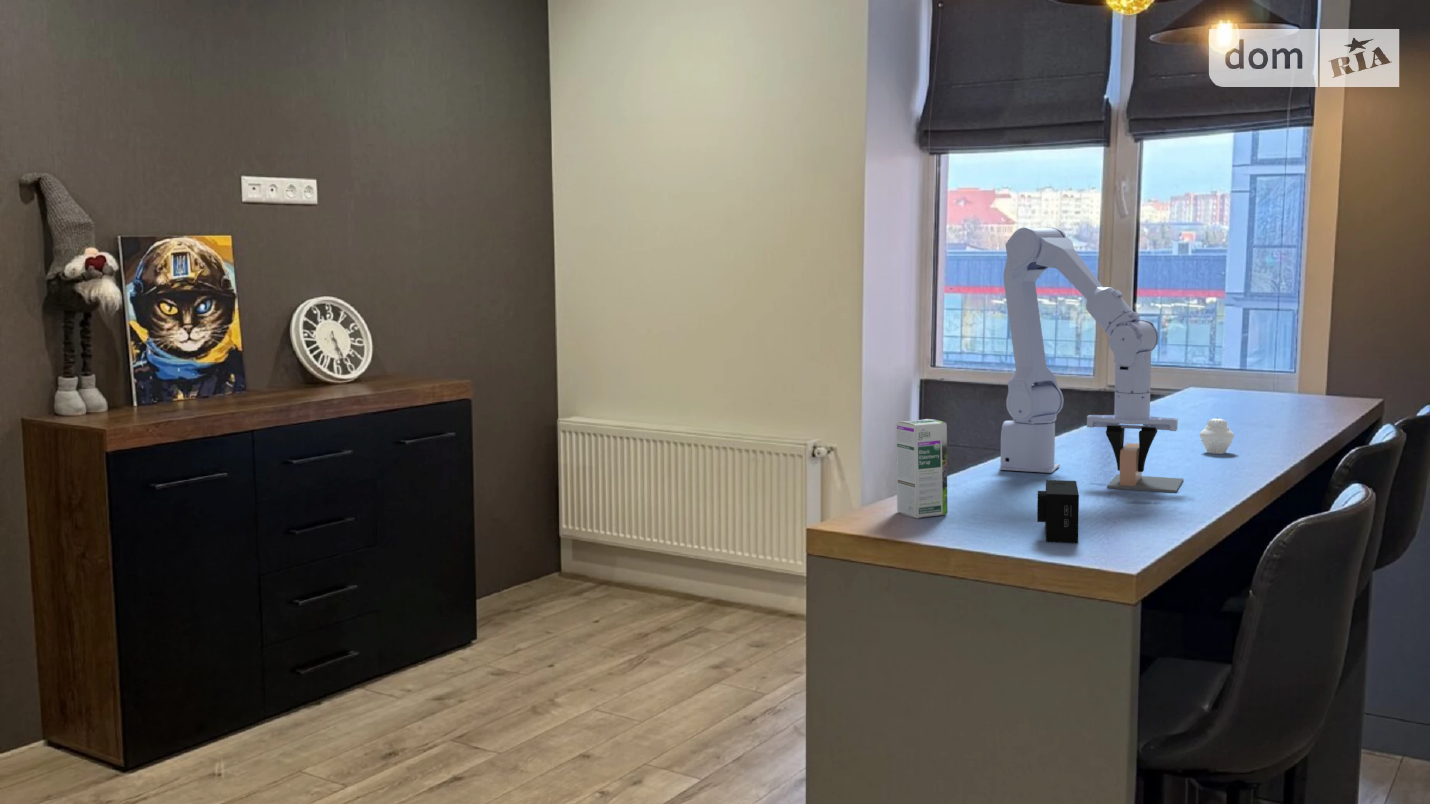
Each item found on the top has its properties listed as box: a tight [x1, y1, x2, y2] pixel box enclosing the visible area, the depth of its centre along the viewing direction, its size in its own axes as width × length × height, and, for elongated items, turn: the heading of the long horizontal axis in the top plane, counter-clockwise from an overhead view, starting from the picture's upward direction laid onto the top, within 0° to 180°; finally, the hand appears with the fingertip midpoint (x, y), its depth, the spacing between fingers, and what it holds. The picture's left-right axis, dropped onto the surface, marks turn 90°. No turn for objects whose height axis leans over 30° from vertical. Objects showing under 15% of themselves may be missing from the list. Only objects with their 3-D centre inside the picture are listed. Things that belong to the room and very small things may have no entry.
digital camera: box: [1036, 479, 1080, 544], centre depth 169 cm, size 10×5×7 cm, turn 165°
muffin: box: [1199, 417, 1235, 455], centre depth 232 cm, size 6×6×7 cm
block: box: [1119, 442, 1143, 486], centre depth 203 cm, size 3×8×6 cm, turn 153°
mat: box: [1106, 473, 1184, 494], centre depth 203 cm, size 11×11×1 cm
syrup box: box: [895, 418, 948, 519], centre depth 183 cm, size 6×6×14 cm
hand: (1130, 470), depth 204 cm, fingers open, 3 cm apart
